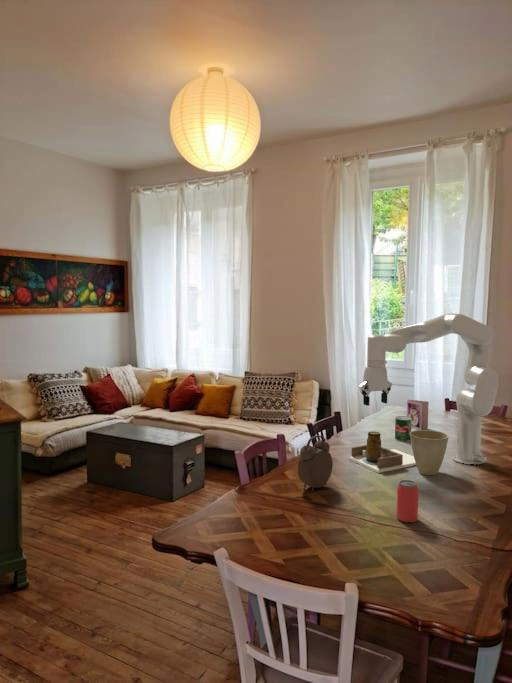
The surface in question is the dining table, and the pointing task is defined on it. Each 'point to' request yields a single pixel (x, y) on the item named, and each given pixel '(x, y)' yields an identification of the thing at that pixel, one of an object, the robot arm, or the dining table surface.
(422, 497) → the dining table surface
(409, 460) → the board
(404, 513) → the beer can
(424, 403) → the pink box
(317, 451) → the alarm clock
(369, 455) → the condiment
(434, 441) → the plant pot
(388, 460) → the tray
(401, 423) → the canned tomato
